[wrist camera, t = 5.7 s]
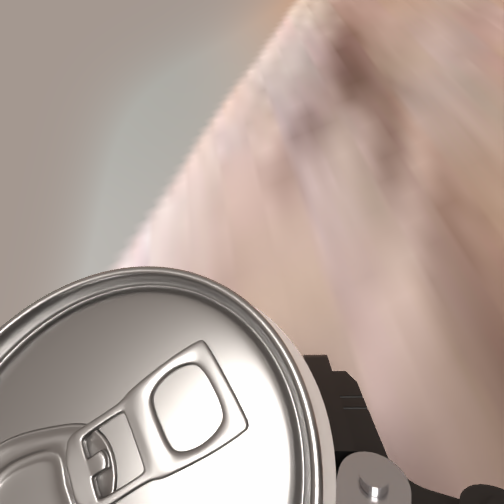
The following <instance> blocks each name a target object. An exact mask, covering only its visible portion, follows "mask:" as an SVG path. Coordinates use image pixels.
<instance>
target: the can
mask: <svg viewBox="0 0 504 504" xmlns="http://www.w3.org/2000/svg"><path fill="white" fill-rule="evenodd" d="M0 504H336V465H335V453H334V445H333V439H332V433H331V428H330V424H329V419H328V416H327V412H326V408H325V405H324V402H323V399H322V396H321V394H320V391H319V388H318V386H317V384H316V381H315V379H314V377H313V375H312V373H311V371H310V369H309V367H308V365H307V364H306V362H305V360H304V358H303V357H302V355H301V354H300V352H299V351H298V349H297V348H296V347H295V345H294V344H293V342H292V341H291V340H290V339H289V337H288V336H287V335H286V334H285V333H284V332H283V331H282V330H281V329H280V327H279V326H278V325H277V324H275V323H274V322H273V321H272V320H271V319H270V318H269V317H268V316H266V315H265V314H264V313H263V312H261V311H260V310H259V309H257V308H256V307H254V306H253V305H251V304H250V303H249V302H247V301H246V300H245V299H244V298H242V297H241V296H240V295H238V294H237V293H235V292H234V291H232V290H231V289H229V288H227V287H225V286H224V285H222V284H220V283H218V282H216V281H214V280H211V279H209V278H207V277H204V276H201V275H198V274H195V273H192V272H188V271H184V270H179V269H174V268H166V267H150V266H146V267H129V268H121V269H115V270H110V271H106V272H102V273H98V274H95V275H92V276H88V277H85V278H83V279H80V280H77V281H75V282H72V283H70V284H68V285H65V286H63V287H61V288H59V289H57V290H55V291H53V292H51V293H49V294H48V295H46V296H44V297H42V298H41V299H39V300H37V301H36V302H34V303H33V304H31V305H29V306H28V307H27V308H25V309H24V310H22V311H21V312H19V313H18V314H17V315H15V316H14V317H13V318H11V319H10V320H9V321H8V322H6V323H5V324H4V325H3V326H2V327H0Z"/></svg>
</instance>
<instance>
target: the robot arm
mask: <svg viewBox="0 0 504 504" xmlns="http://www.w3.org/2000/svg"><path fill="white" fill-rule="evenodd" d="M303 358H304V360H305V362H306V364H307V365H308V367H309V369H310V371H311V373H312V375H313V377H314V379H315V381H316V384H317V386H318V388H319V391H320V394H321V396H322V399H323V402H324V405H325V408H326V412H327V416H328V419H329V424H330V428H331V433H332V439H333V445H334V453H335V465H336V504H504V490H503V489H501V488H498V487H495V486H490V485H483V484H478V485H472V486H469V487H467V488H466V489H464V491H463V492H462V493H461V496H460V499H457V498H453V497H450V496H447V495H444V494H440V493H437V492H434V491H430V490H428V489H425V488H422V487H420V486H418V485H416V484H414V483H413V482H411V481H409V480H408V479H407V478H406V476H405V475H404V473H403V472H402V470H401V469H400V468H399V467H398V466H397V465H396V464H394V463H393V462H392V461H390V460H389V459H388V457H387V455H386V452H385V450H384V447H383V445H382V442H381V440H380V437H379V435H378V433H377V430H376V428H375V425H374V423H373V420H372V418H371V415H370V413H369V411H368V410H367V406H366V403H365V401H364V398H363V397H362V394H361V391H360V389H359V386H358V384H357V382H356V381H355V380H354V379H353V378H352V377H351V376H350V375H349V374H348V373H347V372H346V371H332V369H331V366H330V363H329V360H328V357H327V355H304V356H303Z"/></svg>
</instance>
